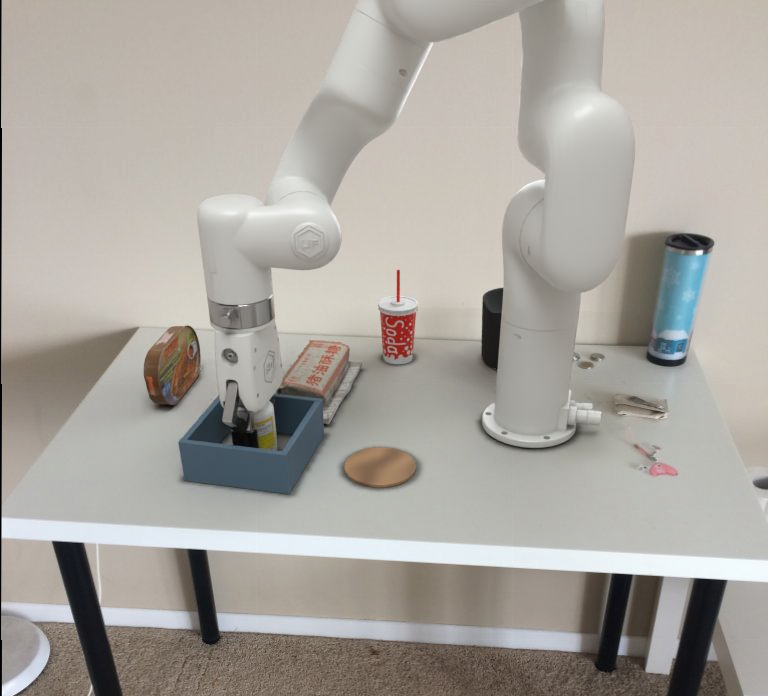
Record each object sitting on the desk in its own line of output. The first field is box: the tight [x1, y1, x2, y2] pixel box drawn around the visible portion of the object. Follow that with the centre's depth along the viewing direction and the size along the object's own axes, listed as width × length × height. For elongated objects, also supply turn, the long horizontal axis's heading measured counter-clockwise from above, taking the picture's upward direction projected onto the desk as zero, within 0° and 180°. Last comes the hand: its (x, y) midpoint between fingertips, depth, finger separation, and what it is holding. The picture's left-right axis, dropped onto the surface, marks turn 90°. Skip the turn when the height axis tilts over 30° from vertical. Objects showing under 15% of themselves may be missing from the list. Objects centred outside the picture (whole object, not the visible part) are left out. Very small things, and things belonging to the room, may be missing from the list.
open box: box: [177, 394, 325, 495], centre depth 110 cm, size 14×15×6 cm
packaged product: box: [274, 339, 363, 425], centre depth 125 cm, size 18×5×10 cm
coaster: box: [343, 446, 417, 489], centre depth 109 cm, size 9×9×1 cm
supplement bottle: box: [237, 401, 279, 451], centre depth 109 cm, size 5×5×10 cm
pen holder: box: [481, 287, 503, 370], centre depth 132 cm, size 9×9×10 cm
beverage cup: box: [377, 269, 419, 365], centre depth 132 cm, size 6×6×14 cm
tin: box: [143, 324, 202, 406], centre depth 125 cm, size 15×3×8 cm, turn 170°
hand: (255, 443), depth 110 cm, fingers closed on supplement bottle, 5 cm apart
